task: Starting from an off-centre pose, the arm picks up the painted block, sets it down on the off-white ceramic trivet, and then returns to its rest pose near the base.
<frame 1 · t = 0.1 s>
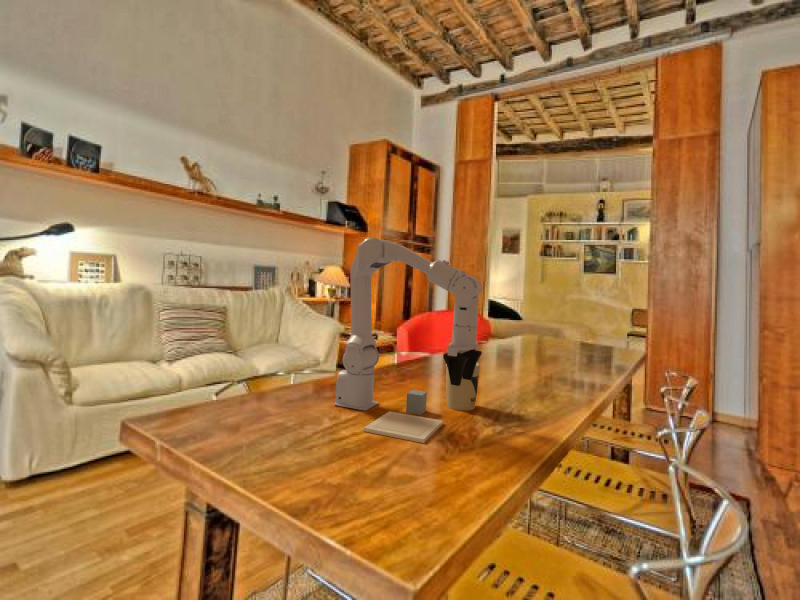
hand: (461, 382, 106), 10 cm above the table, fingers open, 7 cm apart
block: (416, 411, 114), on the table
coffee cup: (460, 407, 121), on the table
trivet: (404, 427, 102), on the table
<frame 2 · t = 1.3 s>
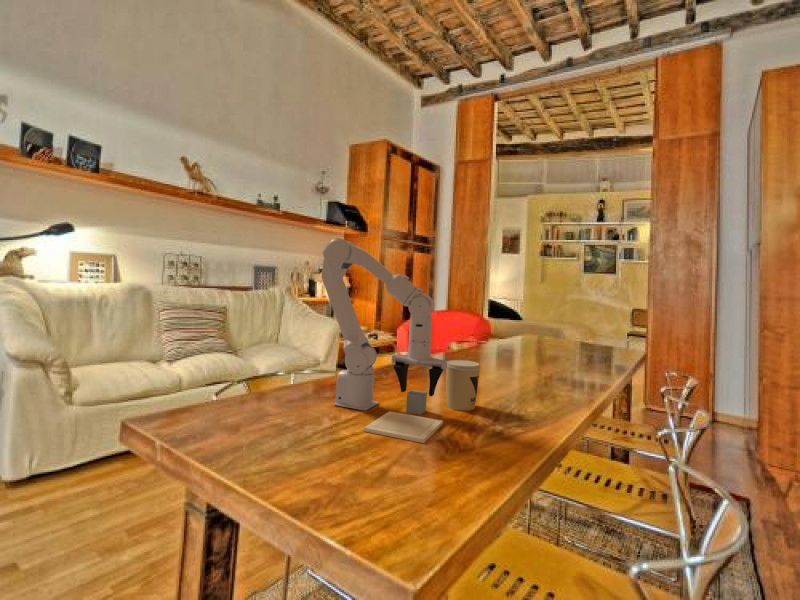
hand: (417, 393, 114), 5 cm above the table, fingers open, 7 cm apart
nothing on the table moved.
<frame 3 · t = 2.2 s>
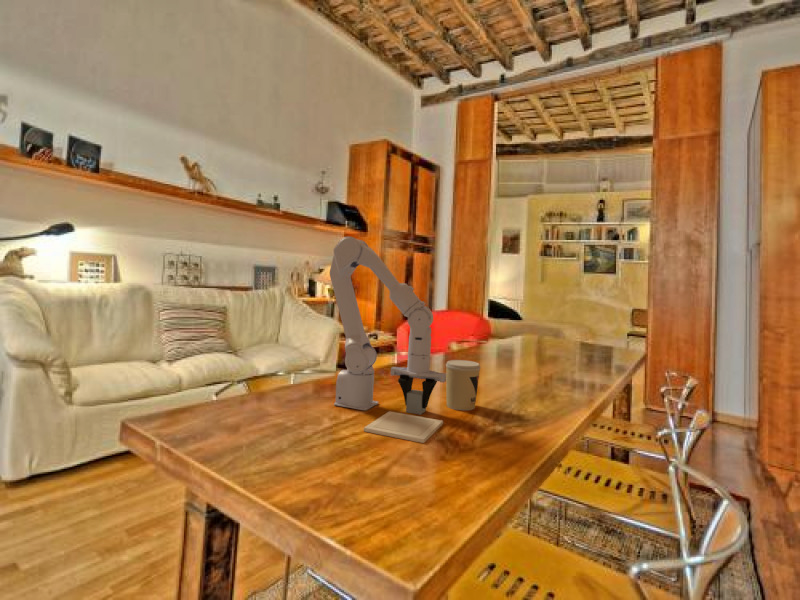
hand: (416, 406, 114), 1 cm above the table, fingers closed on block, 4 cm apart
block: (416, 411, 114), on the table, touching gripper
everything else where it was.
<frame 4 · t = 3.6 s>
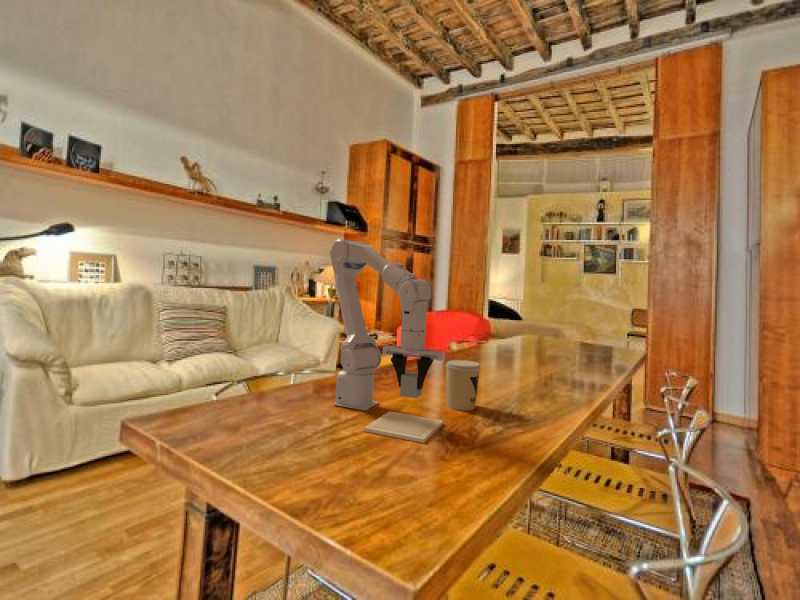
hand: (410, 387, 105), 8 cm above the table, fingers closed on block, 4 cm apart
block: (411, 395, 105), point 6 cm above the table, touching gripper
everything else where it was.
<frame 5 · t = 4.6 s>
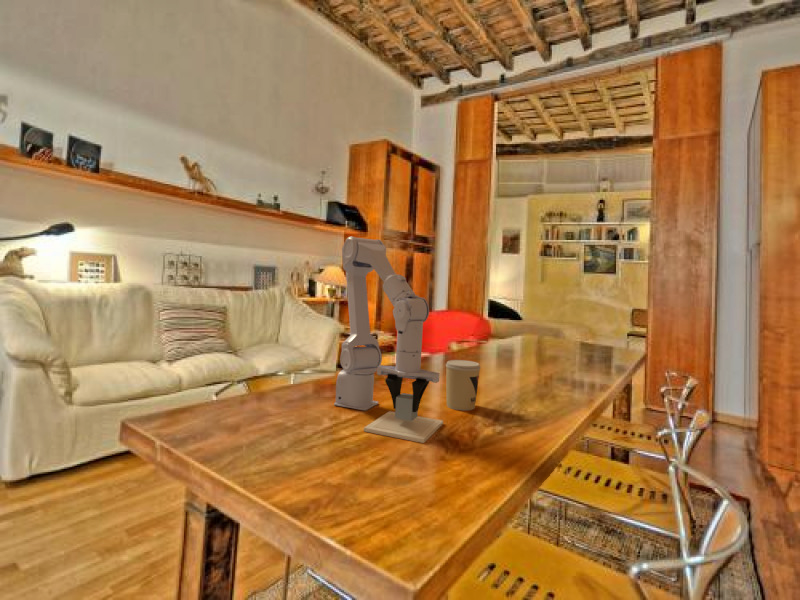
hand: (405, 409, 101), 4 cm above the table, fingers closed on block, 4 cm apart
block: (406, 417, 102), point 2 cm above the table, touching gripper
everything else where it was.
when the fingers open (3 cm above the table, at t = 5.2 s): block stays where it is, resting on trivet.
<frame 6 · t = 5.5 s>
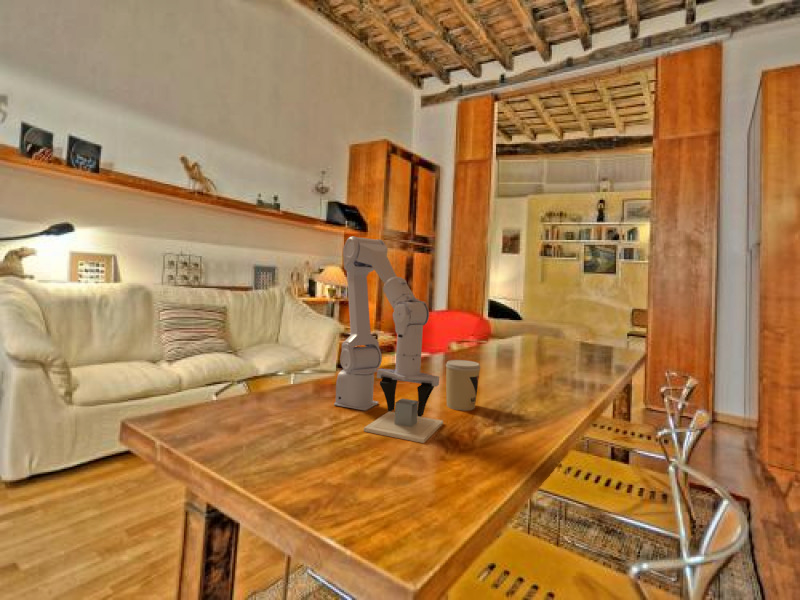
hand: (405, 412, 101), 3 cm above the table, fingers open, 7 cm apart
block: (405, 423, 102), point 1 cm above the table, touching trivet
everything else where it was.
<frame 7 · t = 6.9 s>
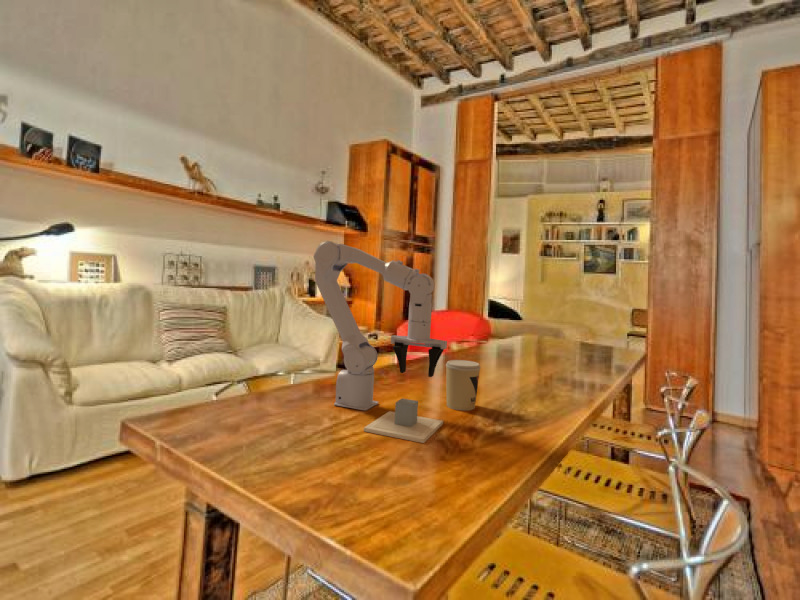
hand: (416, 374, 113), 10 cm above the table, fingers open, 7 cm apart
nothing on the table moved.
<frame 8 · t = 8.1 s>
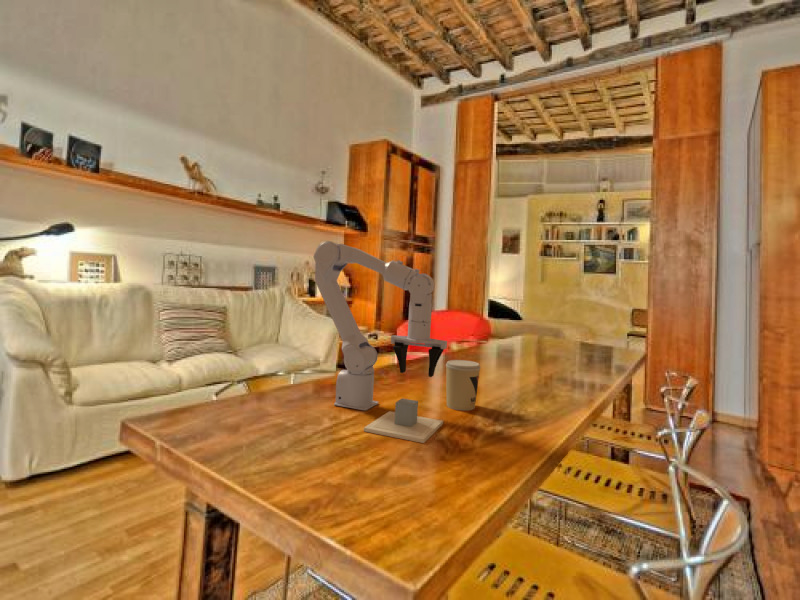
hand: (416, 374, 113), 10 cm above the table, fingers open, 7 cm apart
nothing on the table moved.
at the end: block inside the target area on the trivet (0.5 cm from its centre), point 0.9 cm above the trivet's base; block tilted 0°; the gripper is holding nothing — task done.
